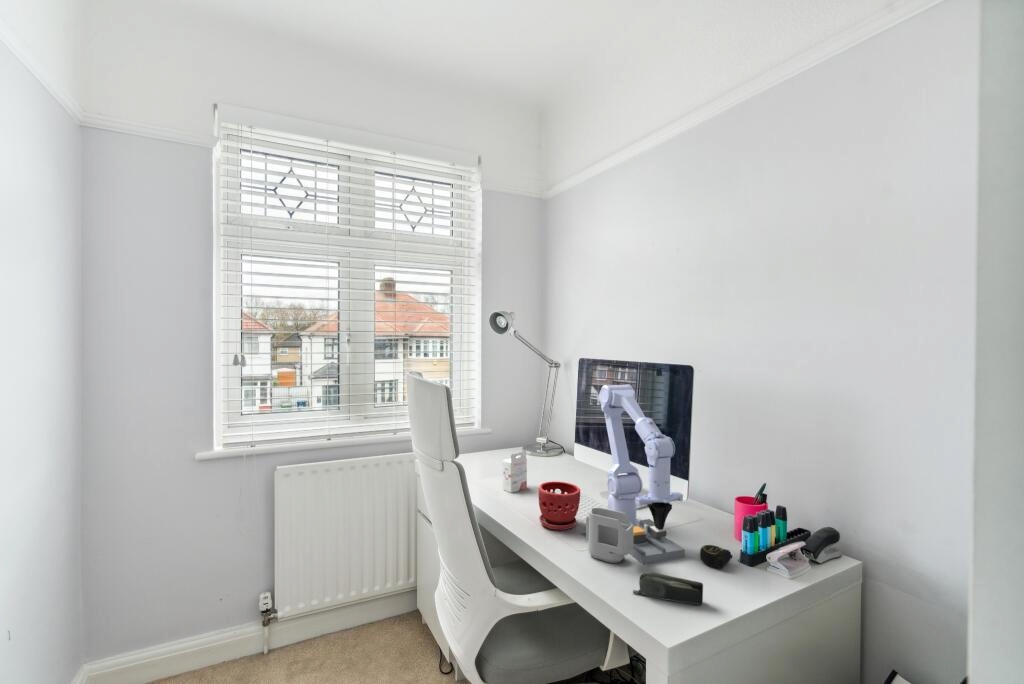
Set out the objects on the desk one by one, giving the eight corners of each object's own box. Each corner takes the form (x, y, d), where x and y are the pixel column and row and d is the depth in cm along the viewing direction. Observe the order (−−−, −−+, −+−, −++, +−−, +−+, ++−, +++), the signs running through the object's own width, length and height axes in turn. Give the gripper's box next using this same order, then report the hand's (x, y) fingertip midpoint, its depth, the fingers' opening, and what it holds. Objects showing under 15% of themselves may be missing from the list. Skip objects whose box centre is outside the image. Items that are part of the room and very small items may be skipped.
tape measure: (722, 573, 117) (722, 558, 117) (695, 563, 122) (695, 549, 122) (732, 564, 122) (732, 549, 122) (706, 555, 127) (706, 541, 127)
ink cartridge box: (518, 485, 186) (518, 448, 186) (527, 488, 183) (527, 450, 183) (502, 490, 181) (502, 452, 180) (510, 493, 177) (511, 454, 177)
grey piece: (626, 569, 119) (626, 522, 119) (582, 556, 126) (582, 511, 126) (635, 558, 125) (635, 514, 124) (592, 547, 131) (592, 504, 131)
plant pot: (548, 535, 139) (548, 495, 139) (532, 519, 151) (532, 482, 151) (587, 530, 143) (587, 491, 143) (569, 514, 156) (569, 479, 155)
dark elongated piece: (702, 579, 105) (634, 567, 110) (704, 586, 102) (633, 573, 107) (702, 601, 105) (633, 588, 110) (703, 609, 102) (632, 595, 107)
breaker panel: (608, 537, 138) (608, 520, 138) (647, 531, 142) (647, 514, 142) (642, 564, 122) (642, 544, 122) (684, 556, 126) (684, 537, 126)
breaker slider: (625, 538, 132) (625, 527, 132) (637, 536, 133) (637, 525, 133) (633, 544, 128) (633, 533, 128) (646, 542, 130) (646, 531, 130)
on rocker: (639, 525, 138) (639, 519, 138) (649, 523, 139) (649, 518, 139) (656, 537, 131) (656, 532, 131) (666, 536, 132) (666, 530, 132)
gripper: (646, 487, 126) (645, 537, 126) (690, 482, 130) (689, 530, 131) (631, 479, 133) (630, 527, 133) (673, 474, 137) (673, 520, 137)
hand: (659, 528), depth 132 cm, fingers closed
